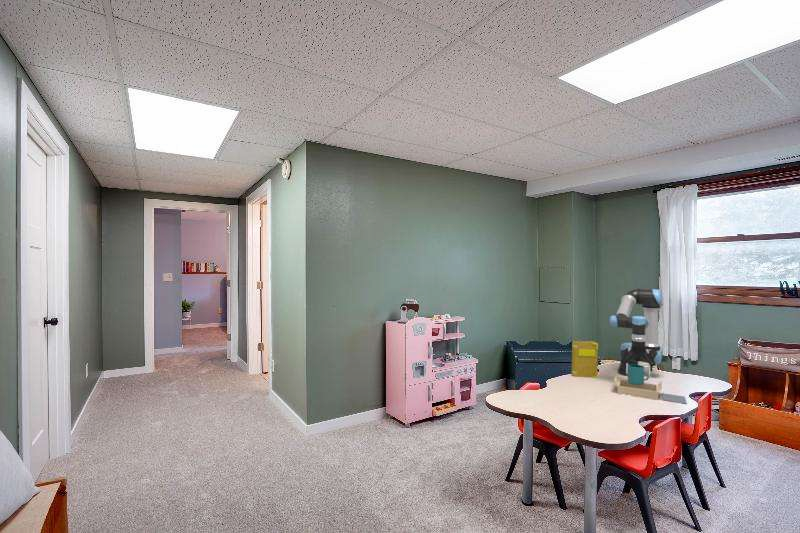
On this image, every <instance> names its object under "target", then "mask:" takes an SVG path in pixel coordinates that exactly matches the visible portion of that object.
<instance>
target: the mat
mask: <svg viewBox="0 0 800 533" xmlns="http://www.w3.org/2000/svg"><path fill="white" fill-rule="evenodd" d="M661 400H662V401H664V402H665V401H666V402H670V403H678V404H682V405H687V404H688V403H687V400H686V397H685V396H684V395H678V394H677V395H676V394H672V393H671V394H670V393H665V392H661Z"/></svg>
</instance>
